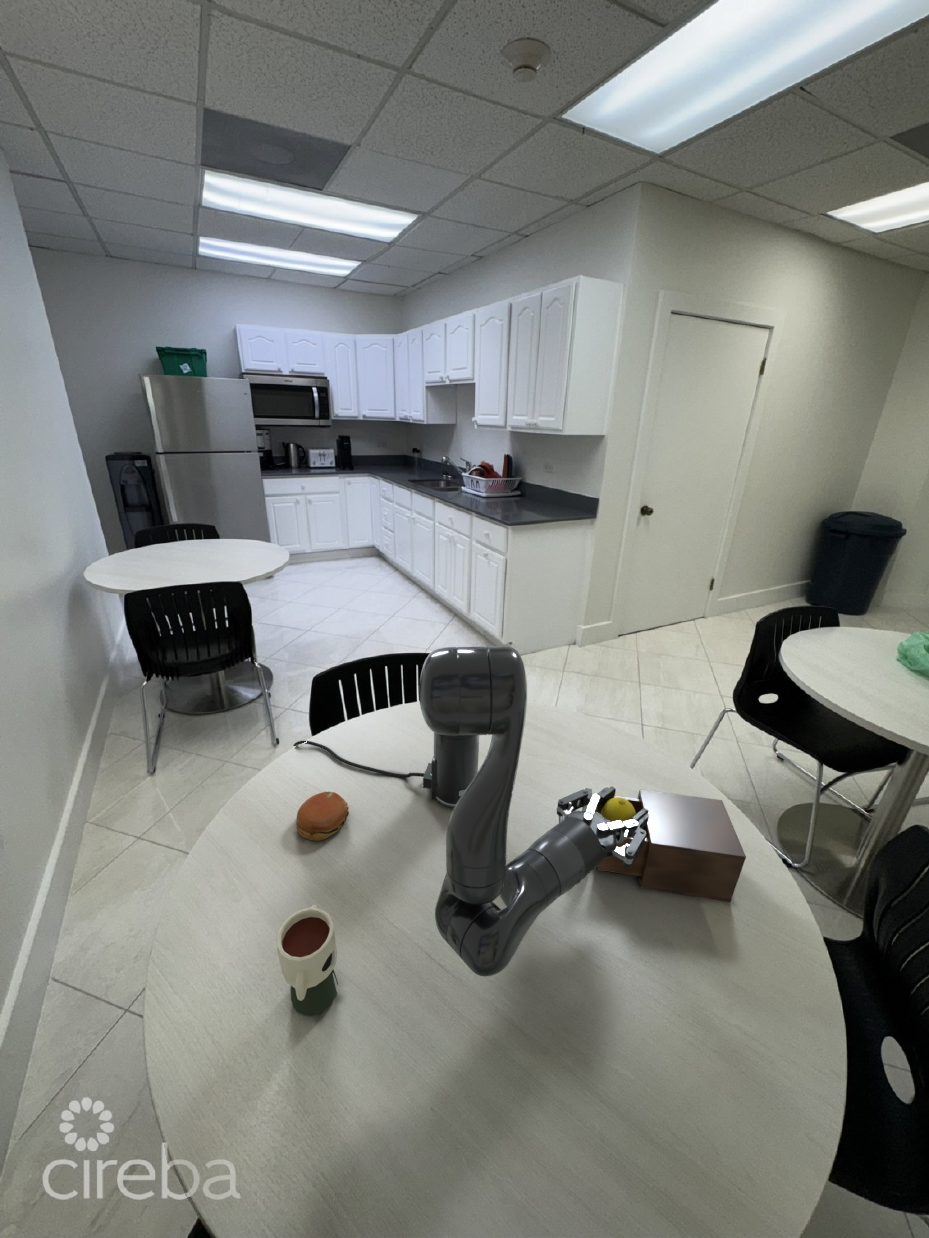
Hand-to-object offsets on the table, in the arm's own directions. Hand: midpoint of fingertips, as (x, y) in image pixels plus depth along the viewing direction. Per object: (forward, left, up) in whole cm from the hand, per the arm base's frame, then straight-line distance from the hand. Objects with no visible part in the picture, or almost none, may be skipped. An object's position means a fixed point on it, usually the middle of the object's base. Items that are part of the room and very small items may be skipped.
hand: (628, 802), depth 80 cm
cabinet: (+12, +5, -17) cm, 21 cm away
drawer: (-1, +5, -16) cm, 17 cm away
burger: (-55, +2, -17) cm, 58 cm away
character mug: (-43, -27, -17) cm, 54 cm away
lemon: (-2, -2, -6) cm, 7 cm away
